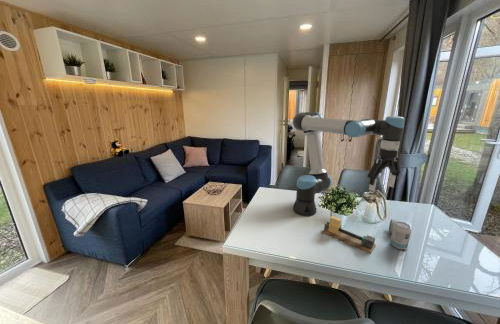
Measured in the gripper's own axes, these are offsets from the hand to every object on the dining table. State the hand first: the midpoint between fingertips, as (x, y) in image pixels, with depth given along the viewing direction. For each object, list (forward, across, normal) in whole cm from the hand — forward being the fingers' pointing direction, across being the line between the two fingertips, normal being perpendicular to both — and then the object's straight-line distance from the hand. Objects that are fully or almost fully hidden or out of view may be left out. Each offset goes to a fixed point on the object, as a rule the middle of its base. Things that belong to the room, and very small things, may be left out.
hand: (381, 188), depth 106 cm
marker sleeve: (+24, -22, +6) cm, 33 cm away
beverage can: (+26, 0, -14) cm, 29 cm away
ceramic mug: (+26, +10, -6) cm, 28 cm away
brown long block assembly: (+26, -19, -1) cm, 32 cm away
